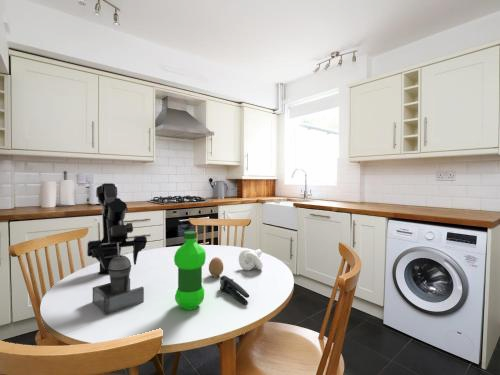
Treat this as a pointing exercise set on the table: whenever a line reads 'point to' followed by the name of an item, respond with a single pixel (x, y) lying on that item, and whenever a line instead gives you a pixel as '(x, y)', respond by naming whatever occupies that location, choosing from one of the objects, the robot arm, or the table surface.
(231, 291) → the can opener
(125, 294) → the box
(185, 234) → the plastic bottle
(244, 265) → the white rounded lump
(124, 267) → the beverage cup
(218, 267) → the egg
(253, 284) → the table surface
